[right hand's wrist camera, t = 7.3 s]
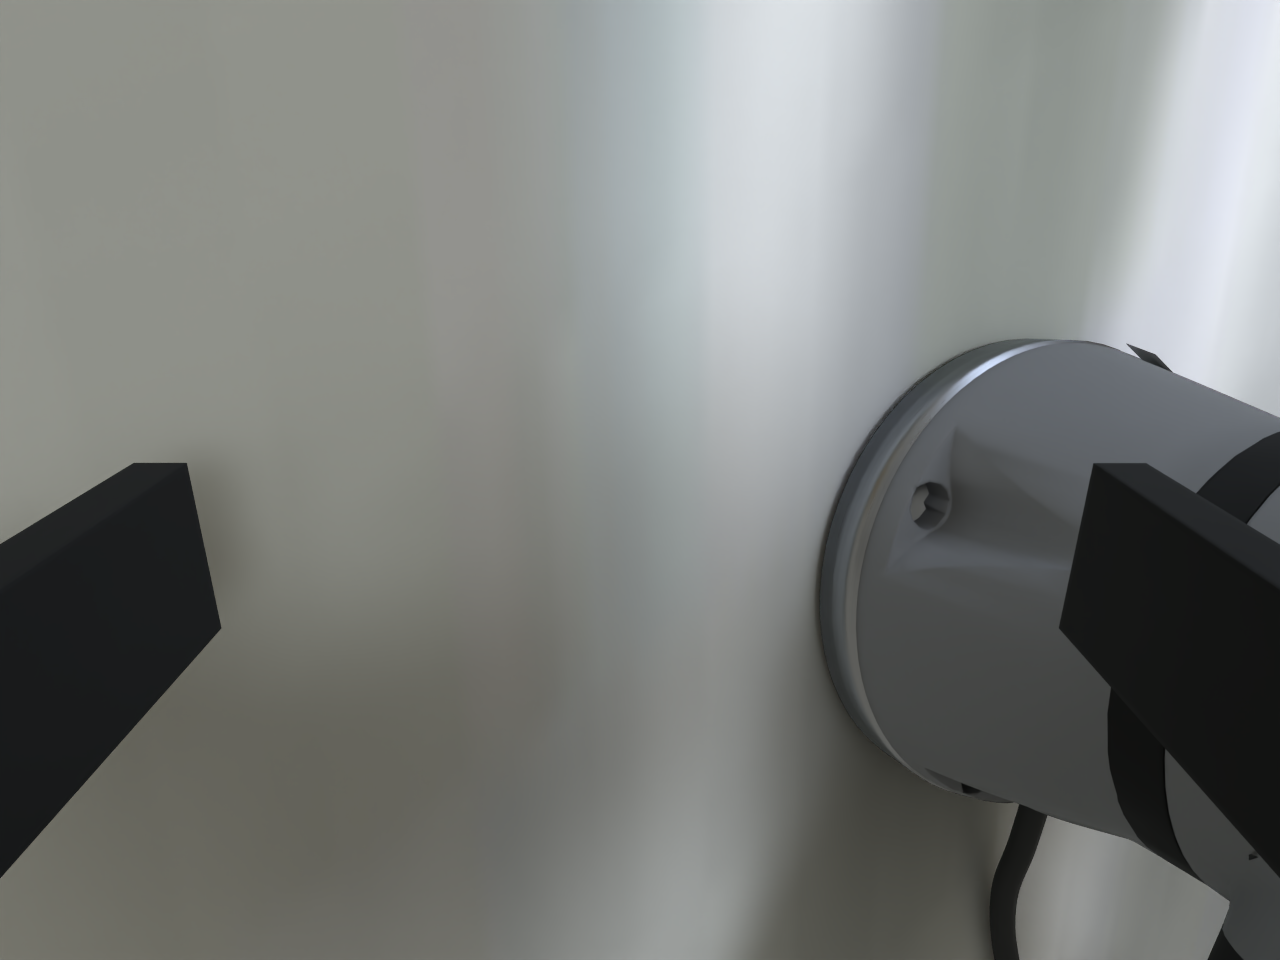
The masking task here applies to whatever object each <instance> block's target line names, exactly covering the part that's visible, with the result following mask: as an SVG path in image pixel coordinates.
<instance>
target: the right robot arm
mask: <svg viewBox="0 0 1280 960" xmlns="http://www.w3.org/2000/svg"><path fill="white" fill-rule="evenodd" d="M1127 345H1128V346H1129V347H1130V348H1131V349H1132V350H1133V351H1134V352H1135V353H1136V354H1137V355H1138V356H1139V357H1140V358H1141V359H1140V358H1137V357H1135V356H1132V355H1130V354H1127V353H1125V352H1122V351H1120V350H1118V349H1115V348H1112V347H1109V346H1107V345H1104V344H1099V343H1094V342H1089V341H1075V340H1048V339H1017V340H1007V341H1002V342H998V343H993V344H989V345H986V346H983V347H980V348H978V349H975V350H972V351H970V352H968V353H966V354H964V355H962V356H959V357H957V358H955V359H954V360H952V361H950V362H949V363H947V364H945V365H944V366H942V367H941V368H939V369H937V370H936V371H935V372H933V373H932V374H931V375H930V376H928V377H927V378H926V379H924V380H923V381H922V382H920V383H919V384H918V385H917V386H916V387H915V388H914V389H913V390H912V391H911V392H910V393H909V394H907V395H906V396H905V397H904V398H903V399H902V400H901V402H900V403H899V404H898V405H897V406H896V407H895V408H894V409H893V410H892V412H891V413H890V414H889V415H888V416H887V418H886V419H885V420H884V422H883V423H882V424H881V425H880V427H879V428H878V429H877V431H876V432H875V433H874V435H873V436H872V438H871V440H870V441H869V443H868V444H867V446H866V448H865V449H864V451H863V452H862V454H861V456H860V458H859V459H858V461H857V463H856V465H855V467H854V469H853V471H852V473H851V475H850V477H849V479H848V481H847V484H846V486H845V488H844V491H843V493H842V495H841V498H840V500H839V503H838V506H837V509H836V512H835V515H834V518H833V521H832V525H831V529H830V532H829V536H828V540H827V544H826V550H825V555H824V561H823V567H822V577H821V588H820V620H821V631H822V640H823V646H824V651H825V656H826V661H827V664H828V668H829V671H830V675H831V678H832V681H833V683H834V685H835V688H836V690H837V693H838V695H839V697H840V699H841V701H842V703H843V705H844V707H845V708H846V710H847V712H848V714H849V715H850V716H851V718H852V719H853V721H854V722H855V723H856V725H857V726H858V728H859V729H860V730H861V731H862V732H863V733H864V734H865V735H866V736H867V737H868V738H869V740H871V741H872V742H873V743H874V744H875V745H877V746H878V747H879V748H880V749H881V750H883V751H884V752H885V753H887V754H888V755H890V756H891V757H892V758H894V759H895V760H897V761H898V762H899V763H901V764H902V765H904V766H905V767H906V768H908V769H909V770H911V771H912V772H913V773H915V774H916V775H918V776H919V777H921V778H922V779H924V780H926V781H927V782H929V783H930V784H932V785H935V786H937V787H939V788H941V789H944V790H946V791H950V792H953V793H957V794H960V795H964V796H968V797H972V798H976V799H980V800H983V801H990V802H998V803H1013V802H1015V803H1018V804H1019V807H1018V811H1017V814H1016V817H1015V820H1014V824H1013V827H1012V830H1011V833H1010V836H1009V839H1008V842H1007V845H1006V847H1005V850H1004V852H1003V855H1002V857H1001V859H1000V862H999V864H998V867H997V869H996V872H995V875H994V879H993V883H992V888H991V896H990V928H991V939H992V946H993V953H994V959H995V960H1019V955H1018V949H1017V942H1016V933H1015V914H1016V904H1017V898H1018V894H1019V890H1020V887H1021V884H1022V881H1023V879H1024V877H1025V875H1026V872H1027V870H1028V868H1029V866H1030V863H1031V861H1032V859H1033V856H1034V854H1035V851H1036V848H1037V845H1038V842H1039V839H1040V836H1041V833H1042V830H1043V827H1044V824H1045V821H1046V818H1047V815H1049V816H1052V817H1054V818H1057V819H1060V820H1064V821H1067V822H1070V823H1073V824H1076V825H1080V826H1083V827H1087V828H1090V829H1094V830H1098V831H1101V832H1105V833H1108V834H1112V835H1116V836H1119V837H1123V838H1126V839H1129V840H1132V841H1134V842H1136V843H1138V844H1139V845H1141V846H1143V847H1144V848H1146V849H1148V850H1150V851H1151V852H1153V853H1155V854H1157V855H1158V856H1160V857H1162V858H1163V859H1165V860H1166V861H1168V862H1170V863H1171V864H1173V865H1175V866H1176V867H1178V868H1180V869H1181V870H1183V871H1185V872H1186V873H1188V874H1190V875H1191V876H1193V877H1195V878H1196V879H1198V880H1199V881H1201V882H1203V883H1204V884H1206V885H1208V886H1209V887H1211V888H1212V889H1213V890H1215V891H1216V892H1218V893H1219V894H1220V895H1222V896H1223V897H1225V898H1226V899H1227V900H1229V901H1230V905H1229V910H1228V912H1227V915H1226V918H1225V920H1224V923H1223V925H1222V928H1221V930H1220V933H1219V935H1218V937H1217V939H1216V942H1215V944H1214V946H1213V949H1212V951H1211V953H1210V955H1209V958H1208V960H1280V418H1279V417H1277V416H1274V415H1272V414H1270V413H1267V412H1265V411H1263V410H1260V409H1258V408H1255V407H1253V406H1251V405H1248V404H1246V403H1244V402H1241V401H1239V400H1237V399H1234V398H1232V397H1230V396H1227V395H1225V394H1223V393H1220V392H1218V391H1216V390H1213V389H1211V388H1209V387H1206V386H1204V385H1201V384H1199V383H1197V382H1194V381H1192V380H1190V379H1187V378H1185V377H1182V376H1180V375H1178V374H1175V373H1173V372H1172V371H1171V370H1170V369H1169V368H1168V367H1167V366H1166V365H1165V364H1164V363H1163V362H1162V361H1161V360H1160V359H1159V358H1158V357H1157V356H1156V355H1155V354H1153V353H1150V352H1147V351H1145V350H1142V349H1140V348H1137V347H1134V346H1132V345H1129V344H1127ZM220 629H221V624H220V619H219V615H218V610H217V605H216V600H215V596H214V591H213V586H212V581H211V577H210V572H209V567H208V562H207V557H206V553H205V548H204V543H203V538H202V534H201V529H200V524H199V519H198V515H197V510H196V505H195V500H194V495H193V491H192V486H191V481H190V476H189V472H188V467H187V463H133V464H131V465H130V466H128V467H126V468H125V469H123V470H122V471H120V472H118V473H117V474H115V475H113V476H112V477H110V478H108V479H107V480H105V481H103V482H102V483H100V484H98V485H97V486H95V487H94V488H92V489H90V490H89V491H87V492H85V493H84V494H82V495H80V496H79V497H77V498H75V499H74V500H72V501H71V502H69V503H67V504H66V505H64V506H62V507H61V508H59V509H57V510H56V511H54V512H52V513H51V514H49V515H48V516H46V517H44V518H43V519H41V520H39V521H38V522H36V523H34V524H33V525H31V526H29V527H28V528H26V529H25V530H23V531H21V532H20V533H18V534H16V535H15V536H13V537H11V538H10V539H8V540H6V541H5V542H3V543H2V544H0V878H1V877H2V876H3V874H4V873H5V872H6V871H7V870H8V869H9V868H10V867H11V865H12V864H13V863H14V862H15V861H16V860H17V859H18V858H19V856H20V855H21V854H22V853H23V852H24V851H25V850H26V848H27V847H28V846H29V845H30V844H31V843H32V842H33V841H34V839H35V838H36V837H37V836H38V835H39V834H40V833H41V832H42V830H43V829H44V828H45V827H46V826H47V825H48V824H49V822H50V821H51V820H52V819H53V818H54V817H55V816H56V815H57V813H58V812H59V811H60V810H61V809H62V808H63V807H64V806H65V804H66V803H67V802H68V801H69V800H70V799H71V798H72V796H73V795H74V794H75V793H76V792H77V791H78V790H79V789H80V787H81V786H82V785H83V784H84V783H85V782H86V781H87V780H88V778H89V777H90V776H91V775H92V774H93V773H94V772H95V770H96V769H97V768H98V767H99V766H100V765H101V764H102V763H103V761H104V760H105V759H106V758H107V757H108V756H109V755H110V754H111V752H112V751H113V750H114V749H115V748H116V747H117V746H118V744H119V743H120V742H121V741H122V740H123V739H124V738H125V737H126V735H127V734H128V733H129V732H130V731H131V730H132V729H133V728H134V726H135V725H136V724H137V723H138V722H139V721H140V720H141V718H142V717H143V716H144V715H145V714H146V713H147V712H148V711H149V709H150V708H151V707H152V706H153V705H154V704H155V703H156V702H157V700H158V699H159V698H160V697H161V696H162V695H163V694H164V692H165V691H166V690H167V689H168V688H169V687H170V686H171V685H172V683H173V682H174V681H175V680H176V679H177V678H178V677H179V676H180V674H181V673H182V672H183V671H184V670H185V669H186V668H187V666H188V665H189V664H190V663H191V662H192V661H193V660H194V659H195V657H196V656H197V655H198V654H199V653H200V652H201V651H202V650H203V648H204V647H205V646H206V645H207V644H208V643H209V642H210V640H211V639H212V638H213V637H214V636H215V635H216V634H217V633H218V631H219V630H220Z"/></svg>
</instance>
